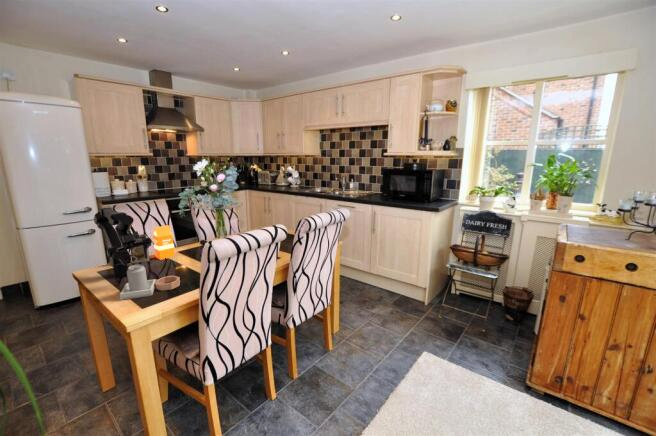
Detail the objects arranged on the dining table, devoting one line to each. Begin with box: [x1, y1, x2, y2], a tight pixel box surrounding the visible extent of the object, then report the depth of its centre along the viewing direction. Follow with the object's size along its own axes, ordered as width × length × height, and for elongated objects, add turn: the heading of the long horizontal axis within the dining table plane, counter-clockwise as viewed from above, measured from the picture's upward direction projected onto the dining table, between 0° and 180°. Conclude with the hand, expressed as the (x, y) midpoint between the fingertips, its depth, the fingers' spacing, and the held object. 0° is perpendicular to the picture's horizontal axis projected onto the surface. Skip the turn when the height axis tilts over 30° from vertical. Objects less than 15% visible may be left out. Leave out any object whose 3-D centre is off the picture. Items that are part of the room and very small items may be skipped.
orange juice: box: [152, 224, 175, 261], centre depth 193 cm, size 8×9×20 cm
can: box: [126, 264, 148, 292], centre depth 144 cm, size 8×8×12 cm
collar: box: [155, 275, 181, 291], centre depth 152 cm, size 10×10×3 cm
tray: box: [119, 278, 157, 301], centre depth 145 cm, size 13×13×3 cm
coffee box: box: [129, 233, 150, 264], centre depth 186 cm, size 9×6×16 cm
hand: (136, 262), depth 148 cm, fingers open, 9 cm apart
